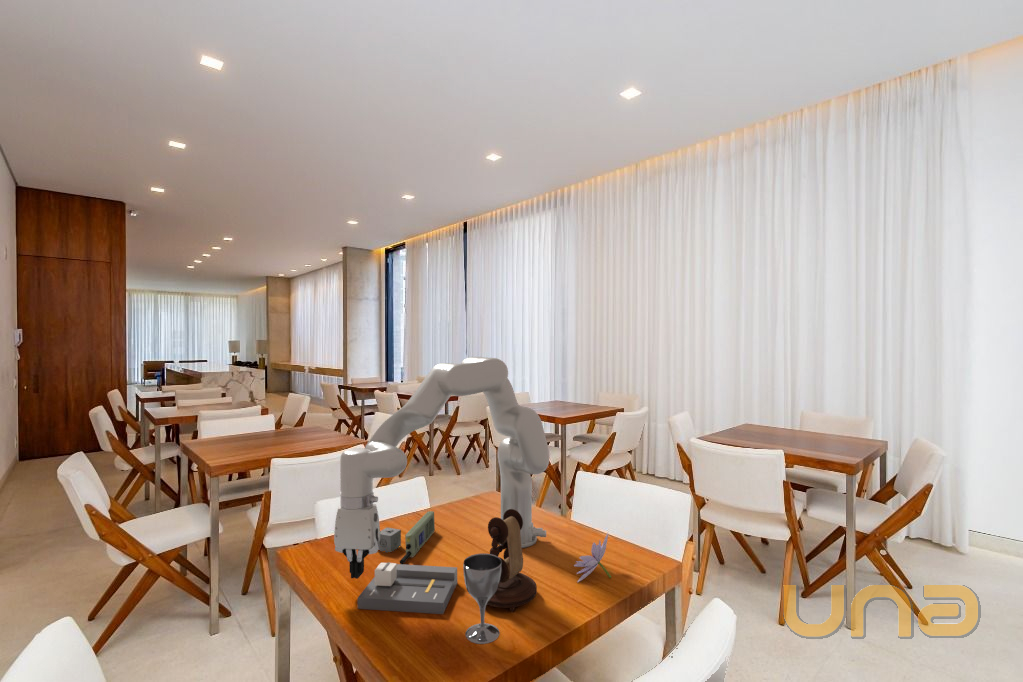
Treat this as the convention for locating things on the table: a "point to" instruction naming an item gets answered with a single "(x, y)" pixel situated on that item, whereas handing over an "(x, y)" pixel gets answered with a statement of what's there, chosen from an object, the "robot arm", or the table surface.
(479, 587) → the wine glass
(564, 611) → the table surface
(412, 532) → the handheld radio
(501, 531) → the scroll
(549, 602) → the table surface
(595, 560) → the water lily
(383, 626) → the table surface
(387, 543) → the dice cube
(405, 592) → the console
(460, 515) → the table surface
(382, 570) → the fader knob
